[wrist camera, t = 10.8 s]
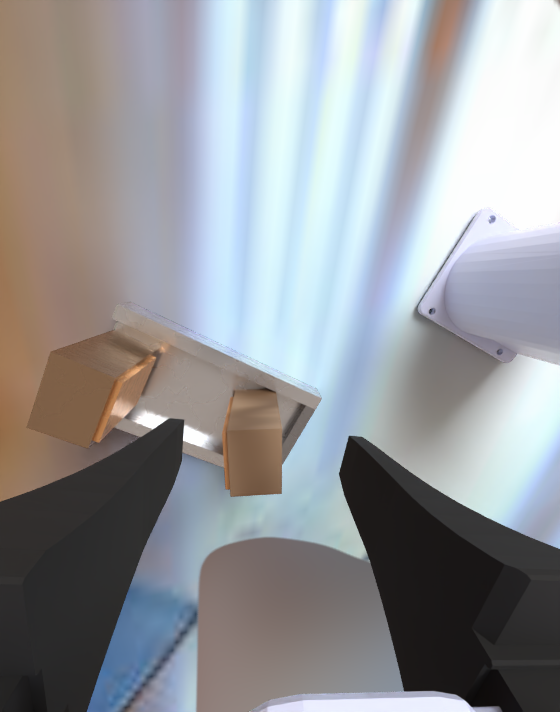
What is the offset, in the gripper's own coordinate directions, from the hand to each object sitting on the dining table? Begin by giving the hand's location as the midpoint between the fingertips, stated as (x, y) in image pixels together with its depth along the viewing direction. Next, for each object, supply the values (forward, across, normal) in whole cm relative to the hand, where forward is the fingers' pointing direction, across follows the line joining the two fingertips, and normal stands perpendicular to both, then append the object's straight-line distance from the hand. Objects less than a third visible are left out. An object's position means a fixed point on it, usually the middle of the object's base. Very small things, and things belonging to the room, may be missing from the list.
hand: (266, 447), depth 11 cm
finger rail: (+9, +4, +2) cm, 10 cm away
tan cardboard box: (+8, 0, +3) cm, 9 cm away
